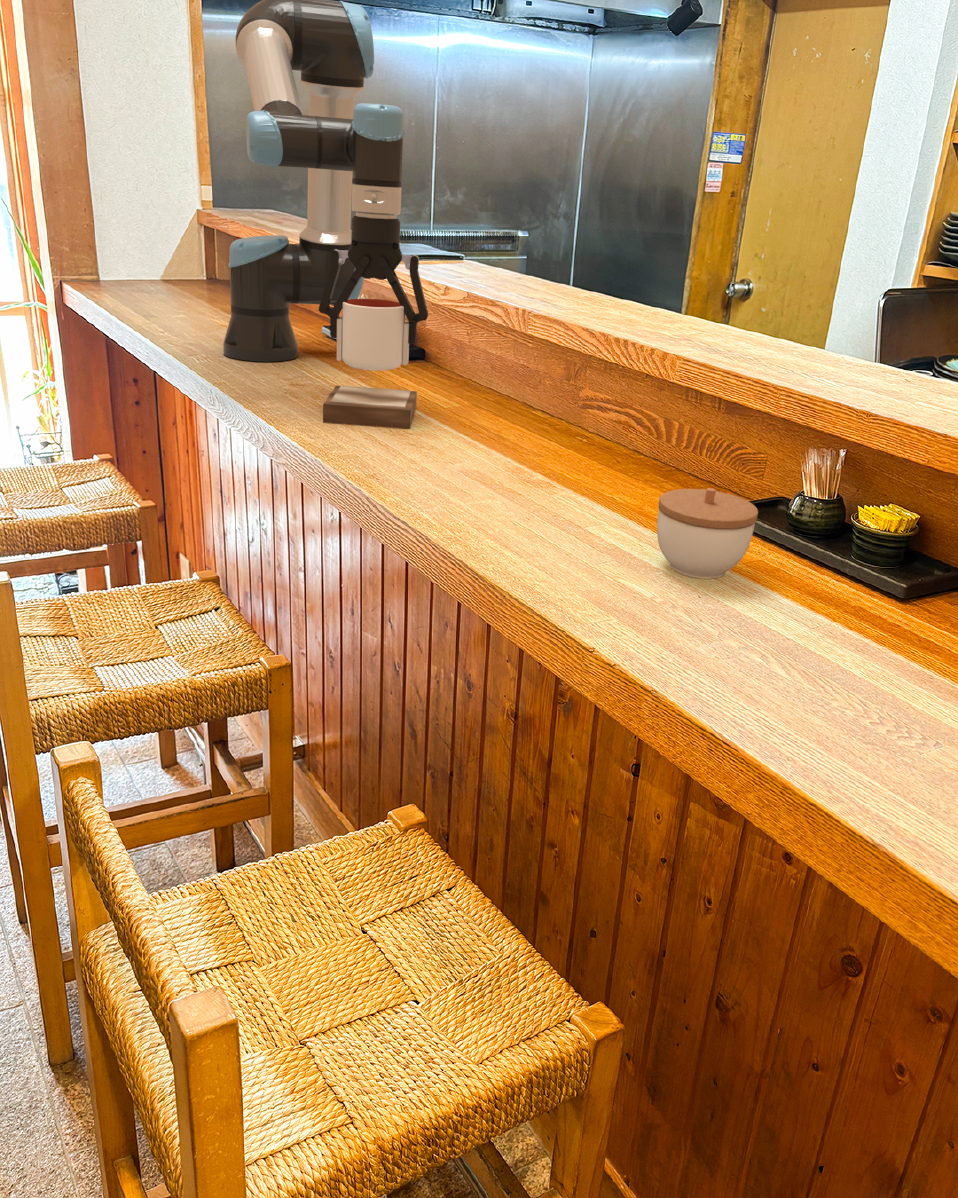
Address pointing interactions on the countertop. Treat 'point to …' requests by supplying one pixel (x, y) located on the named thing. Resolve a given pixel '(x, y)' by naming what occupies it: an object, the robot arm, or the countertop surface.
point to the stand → (370, 407)
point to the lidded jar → (704, 531)
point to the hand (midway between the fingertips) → (372, 361)
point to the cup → (372, 334)
